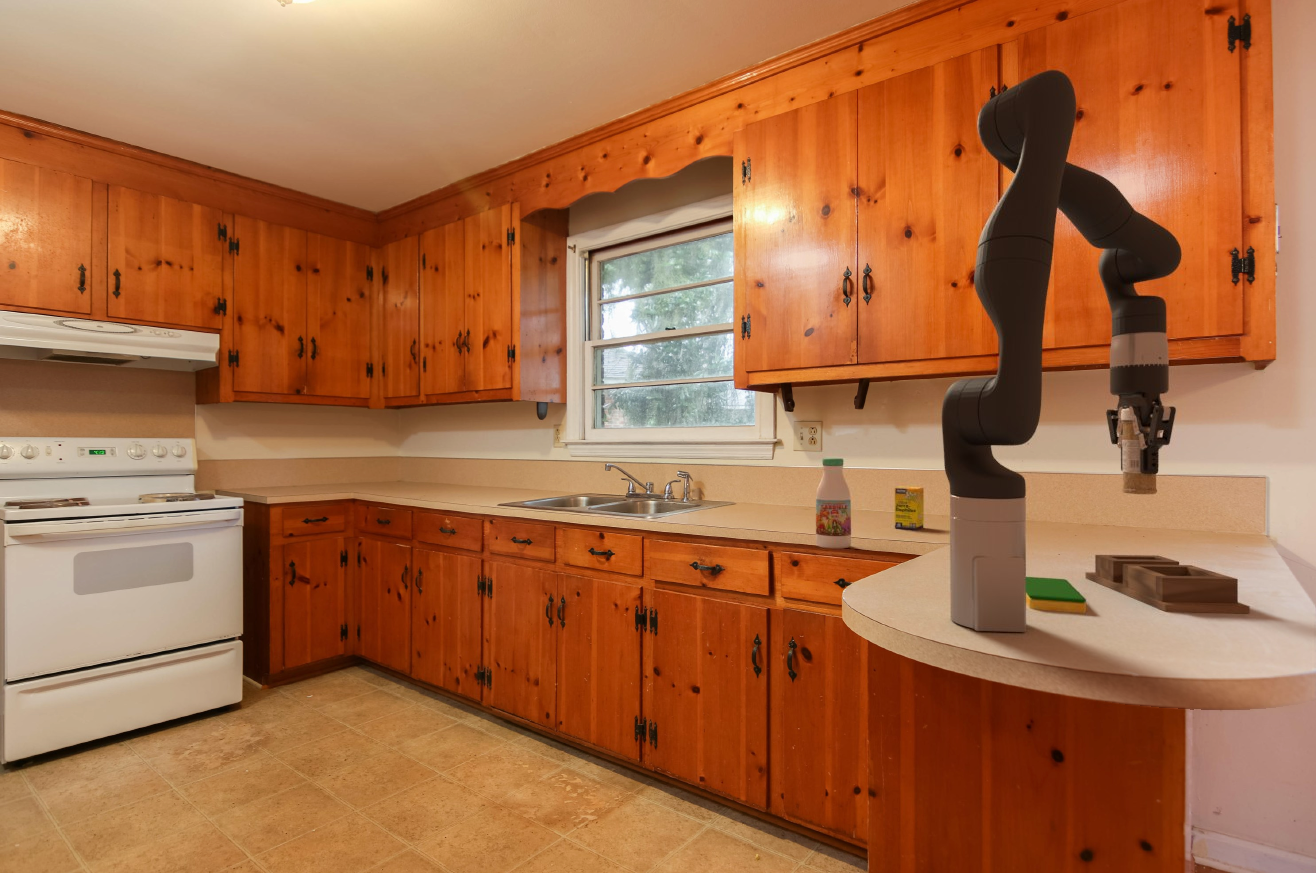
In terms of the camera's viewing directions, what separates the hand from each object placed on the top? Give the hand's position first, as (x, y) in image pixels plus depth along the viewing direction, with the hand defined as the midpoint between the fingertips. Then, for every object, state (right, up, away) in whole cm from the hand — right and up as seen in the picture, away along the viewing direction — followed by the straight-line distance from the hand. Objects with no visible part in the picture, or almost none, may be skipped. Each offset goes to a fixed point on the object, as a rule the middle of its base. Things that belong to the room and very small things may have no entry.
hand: (1139, 472), depth 106 cm
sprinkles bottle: (0, -3, 0) cm, 3 cm away
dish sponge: (-16, -20, -2) cm, 26 cm away
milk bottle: (-36, -19, +46) cm, 62 cm away
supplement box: (-9, -19, +73) cm, 76 cm away
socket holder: (+3, -19, 0) cm, 20 cm away
